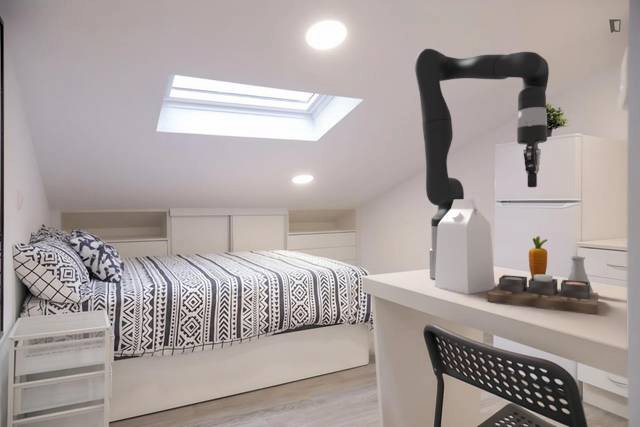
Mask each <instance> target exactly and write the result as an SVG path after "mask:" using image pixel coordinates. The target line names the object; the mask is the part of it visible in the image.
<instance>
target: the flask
mask: <svg viewBox="0 0 640 427" xmlns="http://www.w3.org/2000/svg"><path fill="white" fill-rule="evenodd" d="M570 259H571V261H572V265H571V270H570V273H569V275H568V277H567V280H574V281H587V282H590V281H589V278H588V276H587V273H586V269H585V262H584V261H585V259H586V257H585V256H583V255H582V256H581V255H572V256H570ZM590 292H593V293H595V292H594V289H593V287H592V285H591V284H590Z"/></svg>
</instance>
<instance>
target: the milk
mask: <svg viewBox="0 0 640 427" xmlns="http://www.w3.org/2000/svg"><path fill="white" fill-rule="evenodd" d="M492 240H493V239H492V228H491V225H490V222H489V221H488V219H487V218H486V217H485V216H484V215H483V214H482V213H481V211H480V210H479V209H478V208H477V205H476V202H475V200H474V198H467V199H466V198H464V199H454V201H453V204H452V207H451V209H450V210H449V211H448V213H447V214H446V215H445V216H444V217H443V218H442V220H441V221H440V222H439V224H438V228H437V249H436V272H435V279H434V287H435V288H438V289H443V290H448V291H452V292H456V293H461V294H465V295H470V294H474V293H481V292H487V291H491V290H492V289H494V288H495V287H496V286H495V274H494V273H495V272H494V256H493V243H492V242H493V241H492Z"/></svg>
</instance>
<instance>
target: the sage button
mask: <svg viewBox="0 0 640 427" xmlns="http://www.w3.org/2000/svg"><path fill="white" fill-rule="evenodd" d="M504 279H515V280H522V279H521V278H516V277H506V278H504Z"/></svg>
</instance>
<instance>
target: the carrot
mask: <svg viewBox="0 0 640 427" xmlns="http://www.w3.org/2000/svg"><path fill="white" fill-rule="evenodd" d="M540 238H541V236H539V235H537V236H536V237H533V238H532V242H533V244H534V247H532V248H530V249H529V251H528V262H529V264H528V265H529V270H530V271H529V272H530V276H531V278H532V277H534V275H536V274H544V275H546V272H547V266H548V251H547V249H546V248H542V245H543V244H544V243H545V242H547V241H548V239H547V238H545V239H543V240H540Z"/></svg>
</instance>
